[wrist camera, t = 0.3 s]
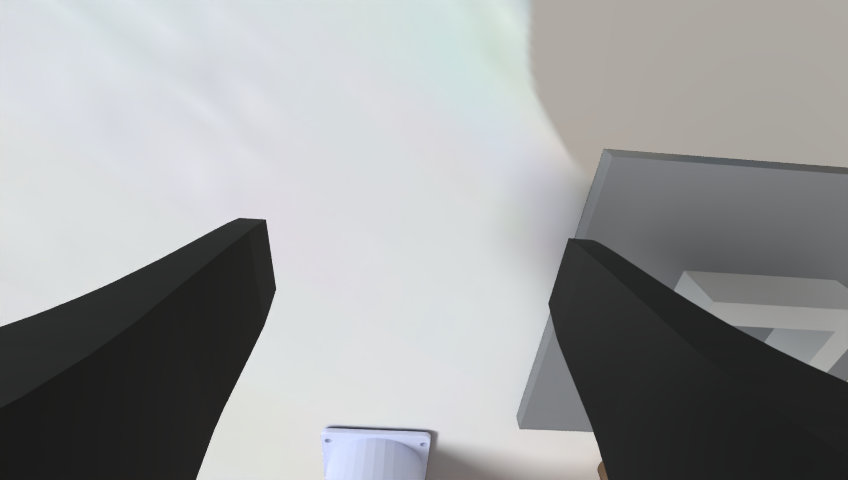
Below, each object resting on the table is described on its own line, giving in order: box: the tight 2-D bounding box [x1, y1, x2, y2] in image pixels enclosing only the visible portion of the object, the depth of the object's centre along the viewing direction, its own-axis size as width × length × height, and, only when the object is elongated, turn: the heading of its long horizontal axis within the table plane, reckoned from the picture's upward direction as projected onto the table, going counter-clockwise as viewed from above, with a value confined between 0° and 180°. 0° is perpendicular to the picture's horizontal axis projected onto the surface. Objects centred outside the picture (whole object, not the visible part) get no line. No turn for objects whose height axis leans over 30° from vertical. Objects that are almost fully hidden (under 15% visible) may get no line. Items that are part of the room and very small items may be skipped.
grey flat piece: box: [517, 149, 848, 432], centre depth 23 cm, size 20×20×4 cm
